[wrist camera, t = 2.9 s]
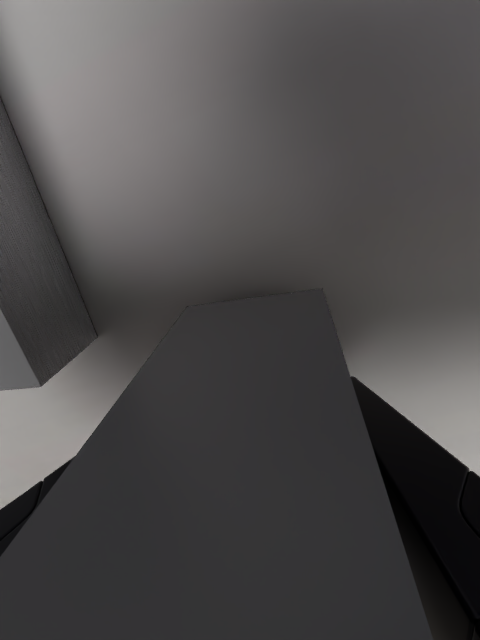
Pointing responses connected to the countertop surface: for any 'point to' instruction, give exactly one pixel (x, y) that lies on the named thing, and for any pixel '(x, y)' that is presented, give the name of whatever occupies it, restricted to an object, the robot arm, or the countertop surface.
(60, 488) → the plug
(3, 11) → the countertop surface
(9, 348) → the socket plate
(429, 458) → the robot arm
